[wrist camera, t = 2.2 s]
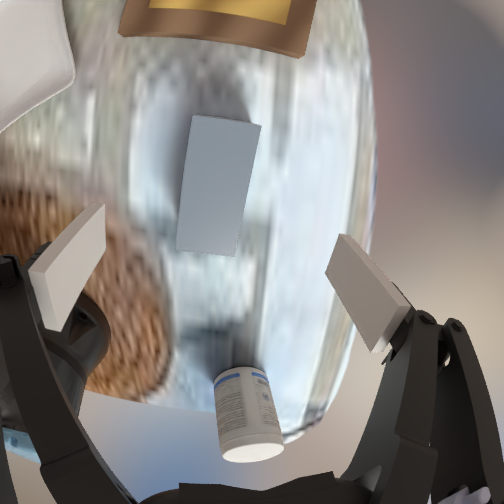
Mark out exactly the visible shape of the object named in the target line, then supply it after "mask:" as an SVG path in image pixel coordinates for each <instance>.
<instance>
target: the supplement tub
mask: <svg viewBox="0 0 504 504" xmlns="http://www.w3.org/2000/svg"><path fill="white" fill-rule="evenodd" d="M214 396H215V407H216V417H217V425H218V435H219V443H220V448H221V451H222V456H223V458H224V459H226V460H228V461H232V462H255V461H261V460H264V459H268V458H271V457H274V456H276V455H278V454H279V453H281V452H282V451H283V449H284V444H283V437H282V433H281V429H280V425H279V421H278V417H277V413H276V409H275V405H274V402H273V398H272V394H271V390H270V386H269V382H268V378H267V376H266V374H265V373H264V372H262V371H261V370H259V369H256V368H252V367H237V368H233V369H229V370H227V371H224V372H223V373H221V374H220V375H219V376H218V377H217V378H216V379H215V381H214Z"/></svg>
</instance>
